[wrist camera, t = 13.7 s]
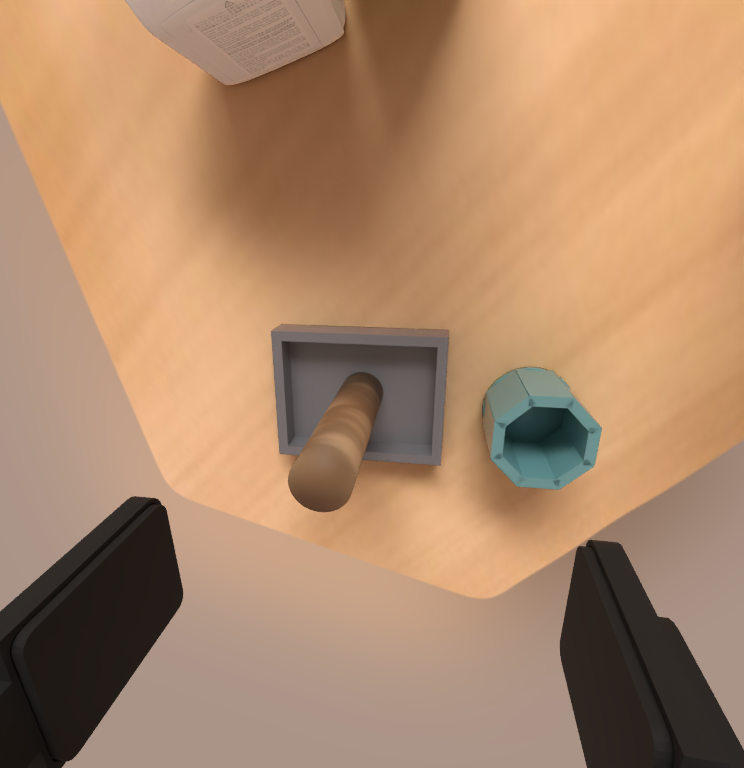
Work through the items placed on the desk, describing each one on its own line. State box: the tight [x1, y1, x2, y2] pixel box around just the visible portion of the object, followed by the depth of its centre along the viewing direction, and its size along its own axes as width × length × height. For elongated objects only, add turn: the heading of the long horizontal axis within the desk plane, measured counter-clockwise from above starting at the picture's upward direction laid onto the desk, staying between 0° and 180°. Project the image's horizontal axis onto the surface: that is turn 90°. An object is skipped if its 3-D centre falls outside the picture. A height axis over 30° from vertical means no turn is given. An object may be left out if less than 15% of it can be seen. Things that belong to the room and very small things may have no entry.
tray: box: [271, 324, 449, 465], centre depth 38 cm, size 14×11×3 cm
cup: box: [482, 367, 602, 490], centre depth 35 cm, size 7×7×6 cm
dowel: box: [288, 372, 383, 512], centre depth 32 cm, size 4×4×15 cm
